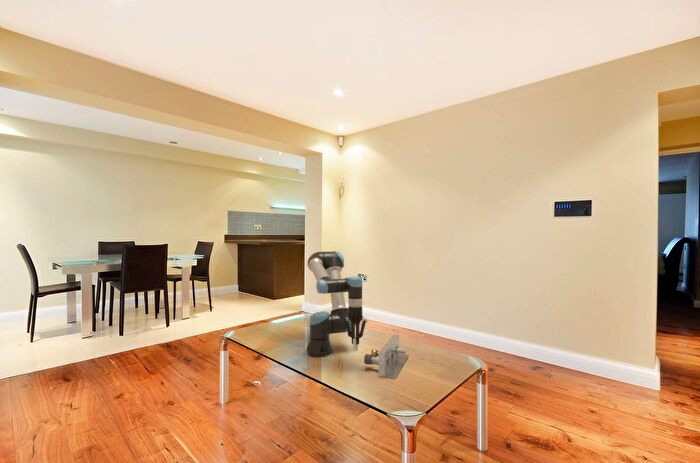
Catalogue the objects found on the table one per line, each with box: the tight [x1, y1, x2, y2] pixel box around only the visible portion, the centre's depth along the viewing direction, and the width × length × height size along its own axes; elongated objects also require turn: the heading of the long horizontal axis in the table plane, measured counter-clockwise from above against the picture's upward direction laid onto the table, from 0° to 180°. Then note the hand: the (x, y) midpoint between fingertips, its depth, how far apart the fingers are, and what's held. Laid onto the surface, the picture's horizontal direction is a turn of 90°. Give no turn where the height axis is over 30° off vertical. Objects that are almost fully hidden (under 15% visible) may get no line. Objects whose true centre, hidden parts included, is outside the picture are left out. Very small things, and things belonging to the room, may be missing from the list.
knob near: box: [363, 353, 379, 366], centre depth 164 cm, size 11×5×5 cm, turn 67°
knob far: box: [396, 347, 407, 355], centre depth 178 cm, size 11×5×5 cm, turn 67°
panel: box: [378, 333, 409, 380], centre depth 169 cm, size 8×30×12 cm, turn 157°
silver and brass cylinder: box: [370, 348, 380, 358], centre depth 172 cm, size 11×4×4 cm, turn 67°
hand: (355, 350), depth 168 cm, fingers closed
